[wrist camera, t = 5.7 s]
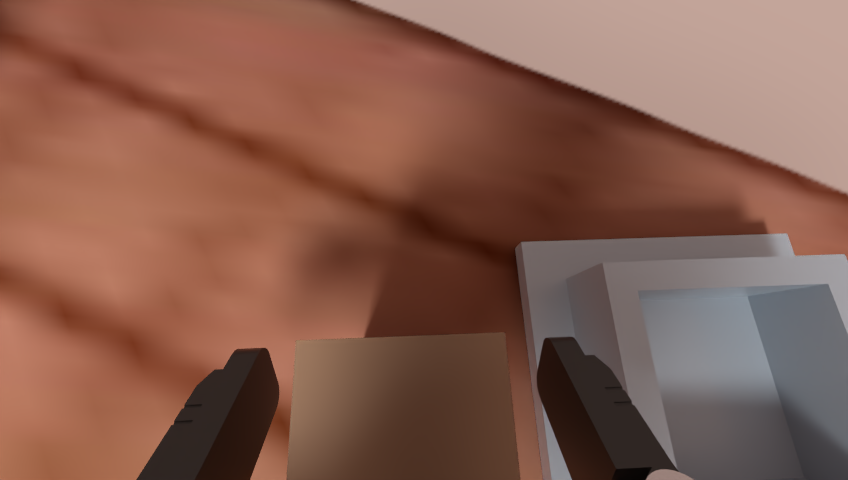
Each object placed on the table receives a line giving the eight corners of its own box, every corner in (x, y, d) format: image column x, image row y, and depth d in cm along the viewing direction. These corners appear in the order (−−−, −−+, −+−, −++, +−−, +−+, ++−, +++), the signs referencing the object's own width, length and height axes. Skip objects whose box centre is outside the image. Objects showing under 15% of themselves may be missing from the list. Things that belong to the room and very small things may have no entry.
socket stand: (553, 567, 13) (614, 663, 9) (515, 248, 16) (546, 217, 12) (871, 547, 13) (1062, 631, 9) (765, 240, 16) (871, 207, 13)
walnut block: (360, 451, 14) (277, 607, 5) (362, 344, 15) (295, 340, 7) (462, 446, 14) (531, 591, 6) (456, 340, 15) (504, 332, 7)
